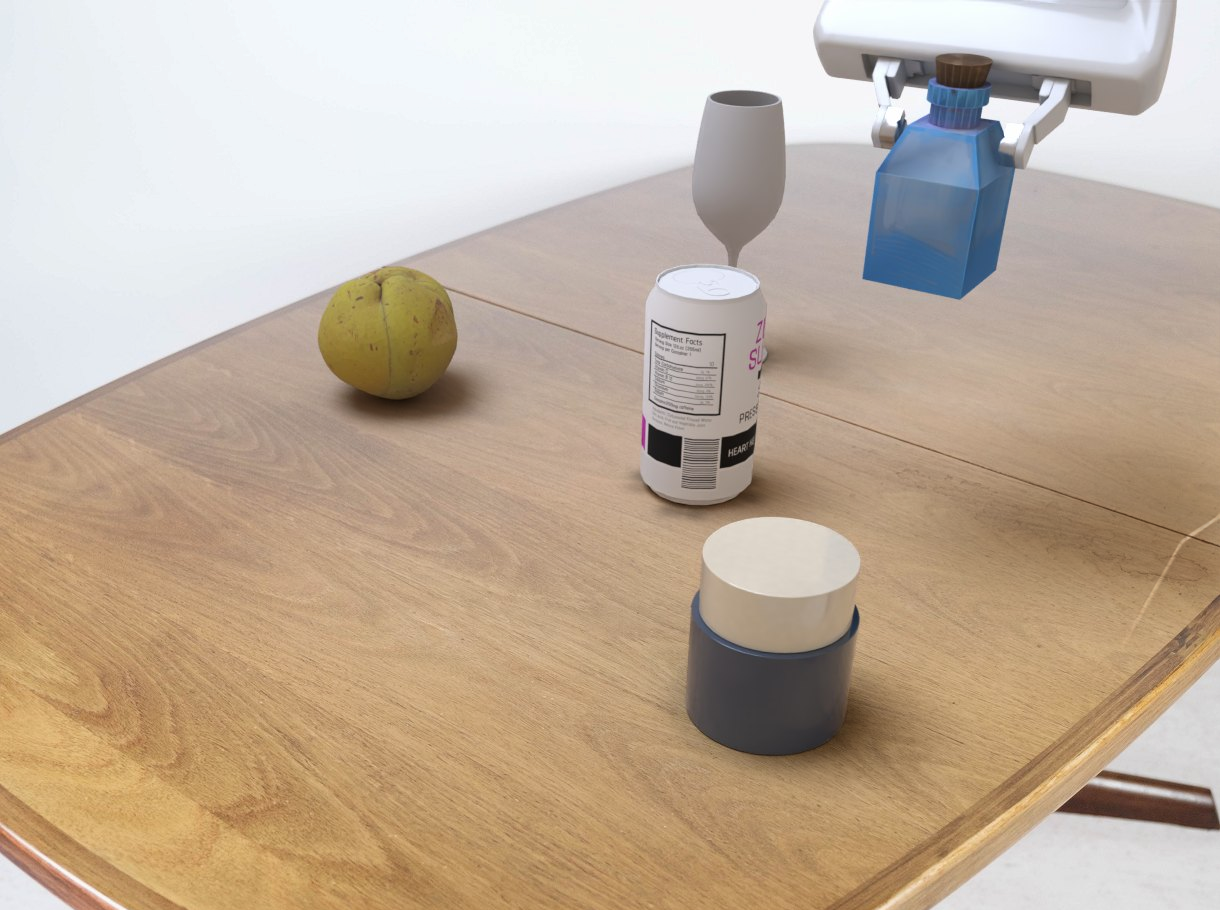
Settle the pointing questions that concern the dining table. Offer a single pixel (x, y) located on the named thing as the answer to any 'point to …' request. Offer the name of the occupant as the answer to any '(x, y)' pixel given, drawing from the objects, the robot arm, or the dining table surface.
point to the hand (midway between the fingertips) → (946, 153)
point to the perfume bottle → (942, 190)
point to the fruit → (389, 332)
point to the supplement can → (701, 382)
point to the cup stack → (773, 635)
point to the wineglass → (739, 167)
